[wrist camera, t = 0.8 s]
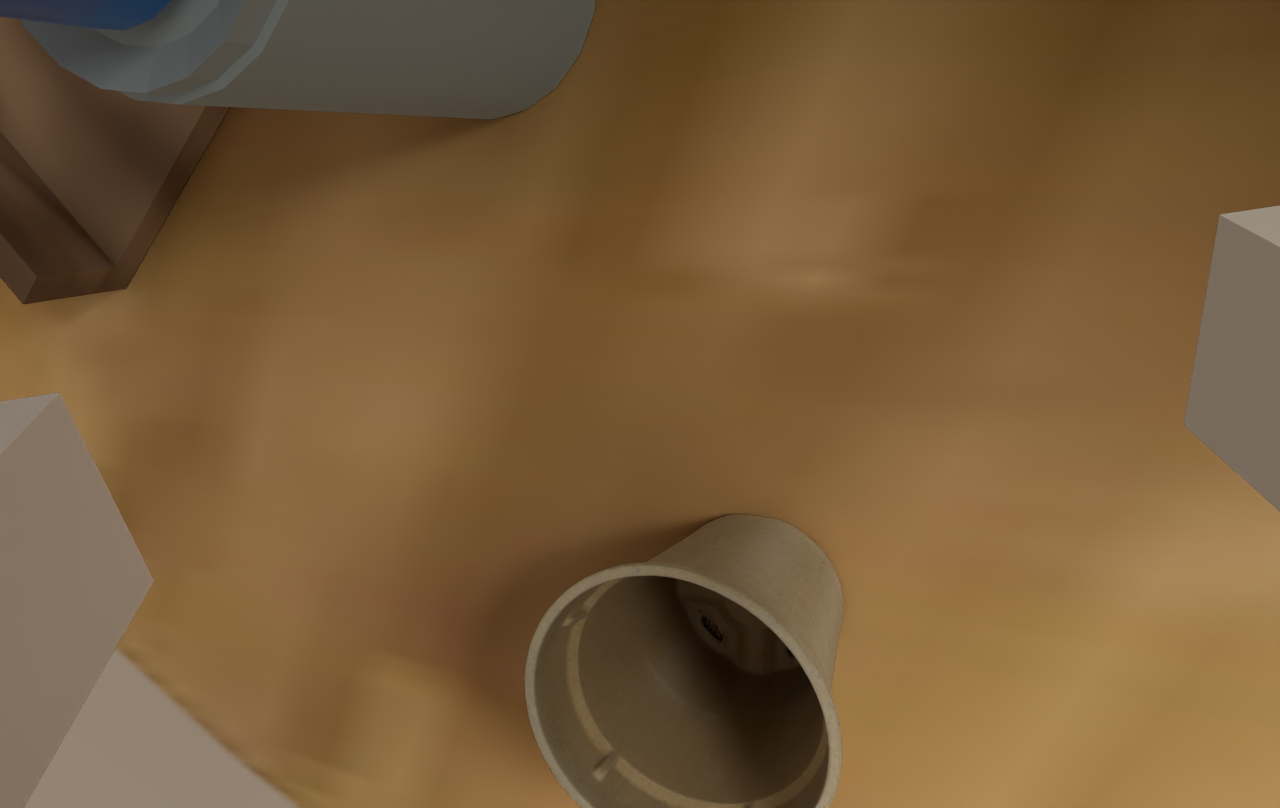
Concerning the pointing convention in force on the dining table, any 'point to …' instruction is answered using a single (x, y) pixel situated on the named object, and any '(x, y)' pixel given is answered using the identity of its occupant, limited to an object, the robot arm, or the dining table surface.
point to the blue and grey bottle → (317, 51)
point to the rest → (83, 173)
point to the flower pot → (695, 675)
